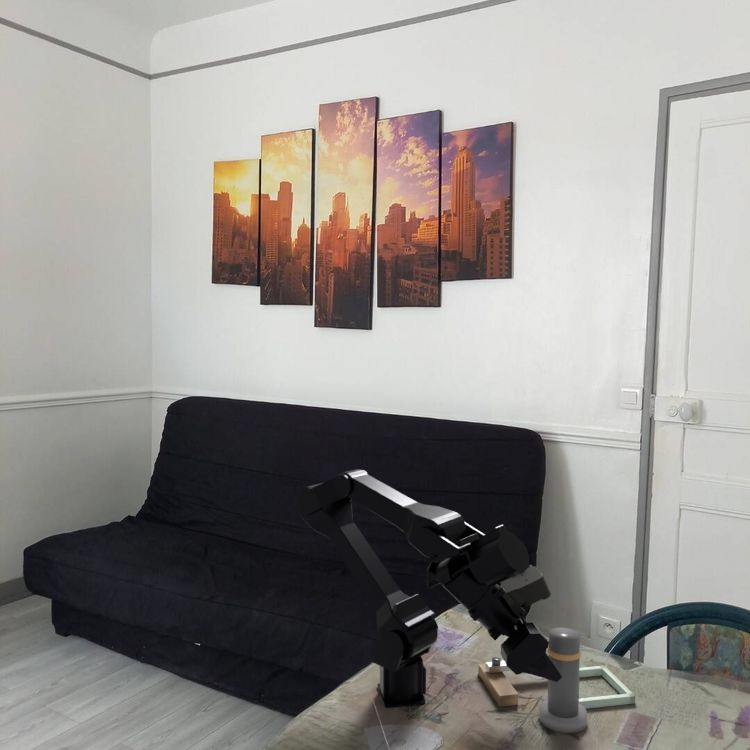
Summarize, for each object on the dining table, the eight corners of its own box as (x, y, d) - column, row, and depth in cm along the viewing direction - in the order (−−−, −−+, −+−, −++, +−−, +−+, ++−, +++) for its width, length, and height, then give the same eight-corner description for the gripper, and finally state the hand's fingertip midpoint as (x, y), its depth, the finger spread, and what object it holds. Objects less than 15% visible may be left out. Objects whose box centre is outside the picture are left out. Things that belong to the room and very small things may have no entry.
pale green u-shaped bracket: (576, 709, 106) (576, 701, 106) (549, 677, 116) (549, 670, 115) (634, 703, 108) (635, 695, 108) (603, 672, 117) (604, 665, 117)
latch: (489, 672, 113) (489, 662, 113) (485, 668, 114) (485, 657, 114) (564, 665, 115) (565, 655, 115) (560, 661, 117) (560, 650, 117)
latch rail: (499, 706, 107) (499, 695, 107) (478, 674, 117) (478, 664, 117) (518, 704, 107) (518, 694, 107) (495, 672, 117) (495, 662, 117)
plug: (551, 735, 99) (553, 647, 98) (531, 709, 106) (532, 626, 105) (595, 730, 101) (597, 642, 100) (573, 704, 107) (574, 622, 106)
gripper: (535, 575, 92) (614, 655, 94) (500, 532, 111) (567, 599, 112) (474, 635, 92) (554, 713, 94) (450, 581, 111) (517, 647, 112)
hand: (549, 662), depth 103 cm, fingers open, 9 cm apart
